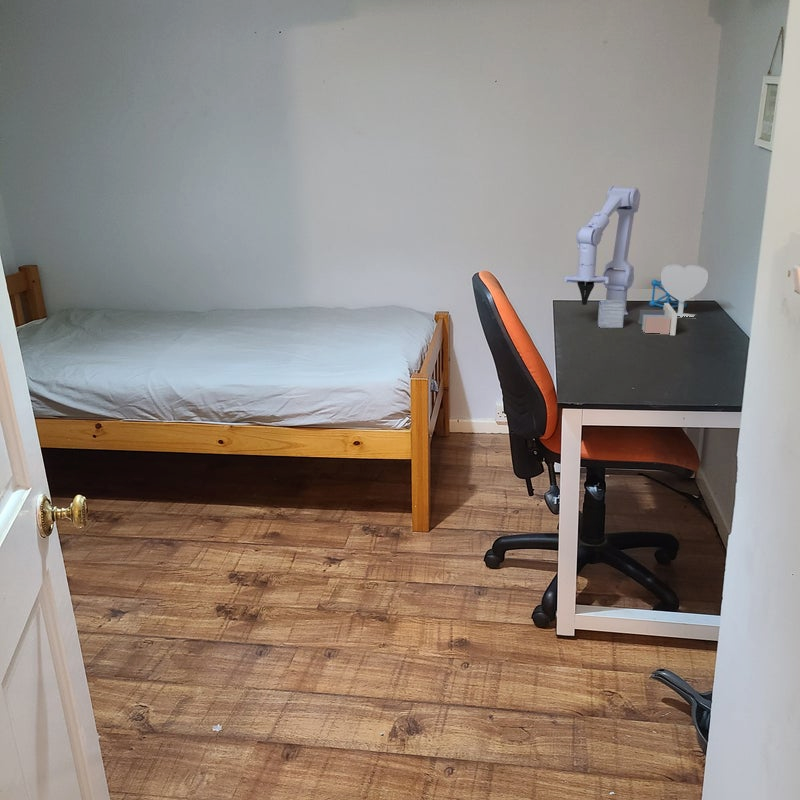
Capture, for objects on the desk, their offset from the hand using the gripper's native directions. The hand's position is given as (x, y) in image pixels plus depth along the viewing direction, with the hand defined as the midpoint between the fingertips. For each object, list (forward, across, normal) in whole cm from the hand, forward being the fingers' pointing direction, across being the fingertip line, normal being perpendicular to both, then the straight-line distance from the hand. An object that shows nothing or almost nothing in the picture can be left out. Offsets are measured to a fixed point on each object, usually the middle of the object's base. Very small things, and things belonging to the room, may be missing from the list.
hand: (584, 304), depth 272 cm
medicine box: (+8, +9, 0) cm, 12 cm away
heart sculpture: (+8, +35, +17) cm, 40 cm away
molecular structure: (+8, +33, +30) cm, 45 cm away
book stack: (+8, +24, -1) cm, 25 cm away
